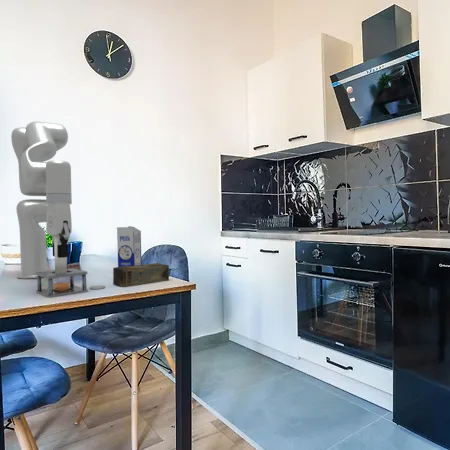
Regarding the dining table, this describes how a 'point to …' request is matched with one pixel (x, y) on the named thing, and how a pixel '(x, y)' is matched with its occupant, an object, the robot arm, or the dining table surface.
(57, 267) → the white tall block
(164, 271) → the dark brown box
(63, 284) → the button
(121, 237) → the milk carton
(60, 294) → the guard frame
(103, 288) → the mat
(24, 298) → the dining table surface
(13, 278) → the dining table surface
